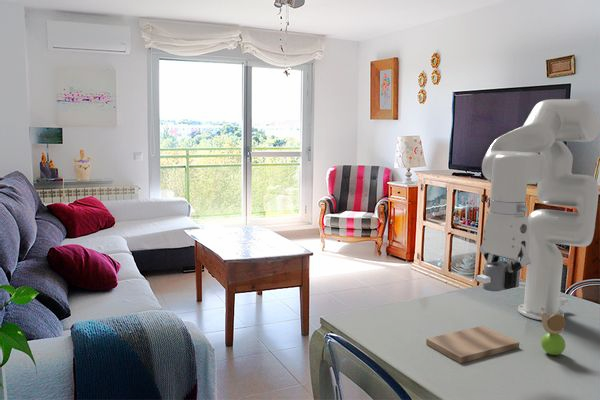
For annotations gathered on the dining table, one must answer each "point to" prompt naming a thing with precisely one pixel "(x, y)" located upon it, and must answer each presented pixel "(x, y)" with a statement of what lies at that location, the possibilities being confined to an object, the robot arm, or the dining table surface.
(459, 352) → the walnut board
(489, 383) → the dining table surface
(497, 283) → the block
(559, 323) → the snail figurine
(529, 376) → the dining table surface
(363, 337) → the dining table surface
